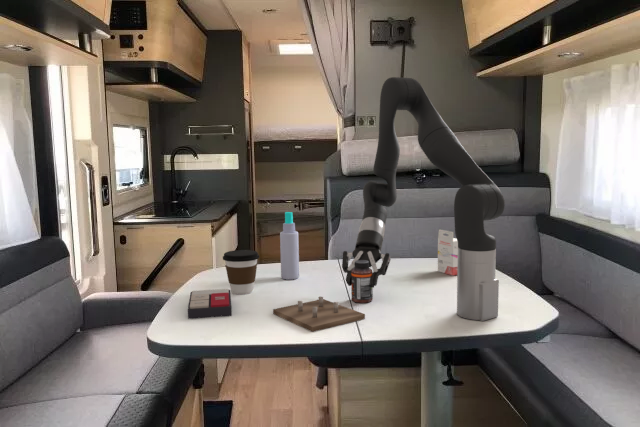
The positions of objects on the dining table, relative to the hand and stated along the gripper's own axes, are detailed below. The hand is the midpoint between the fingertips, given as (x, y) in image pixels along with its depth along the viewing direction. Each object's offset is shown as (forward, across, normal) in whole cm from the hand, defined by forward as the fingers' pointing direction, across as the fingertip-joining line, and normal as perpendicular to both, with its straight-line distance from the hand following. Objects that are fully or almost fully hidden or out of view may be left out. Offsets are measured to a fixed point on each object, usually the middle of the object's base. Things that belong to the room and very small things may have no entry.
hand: (360, 285), depth 150 cm
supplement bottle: (+2, 0, +5) cm, 5 cm away
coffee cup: (+3, -37, +4) cm, 38 cm away
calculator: (+16, -37, -9) cm, 41 cm away
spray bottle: (-12, -30, +19) cm, 37 cm away
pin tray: (+14, -7, -7) cm, 18 cm away
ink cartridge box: (-27, +20, +35) cm, 48 cm away
